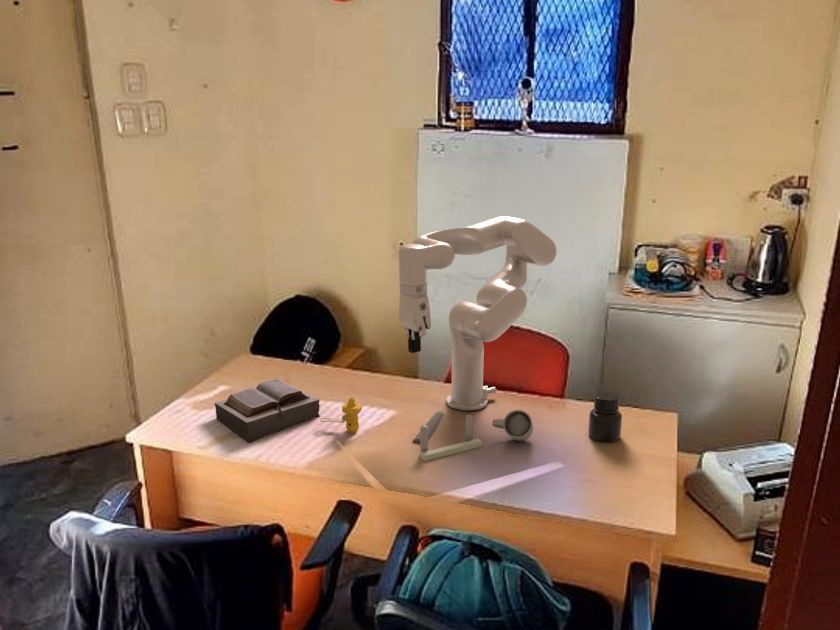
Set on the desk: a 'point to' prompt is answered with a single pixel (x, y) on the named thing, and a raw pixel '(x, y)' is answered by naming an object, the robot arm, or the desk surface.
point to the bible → (266, 409)
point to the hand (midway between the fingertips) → (414, 351)
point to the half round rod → (431, 425)
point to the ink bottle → (605, 417)
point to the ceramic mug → (516, 425)
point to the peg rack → (450, 449)
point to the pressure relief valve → (348, 415)
